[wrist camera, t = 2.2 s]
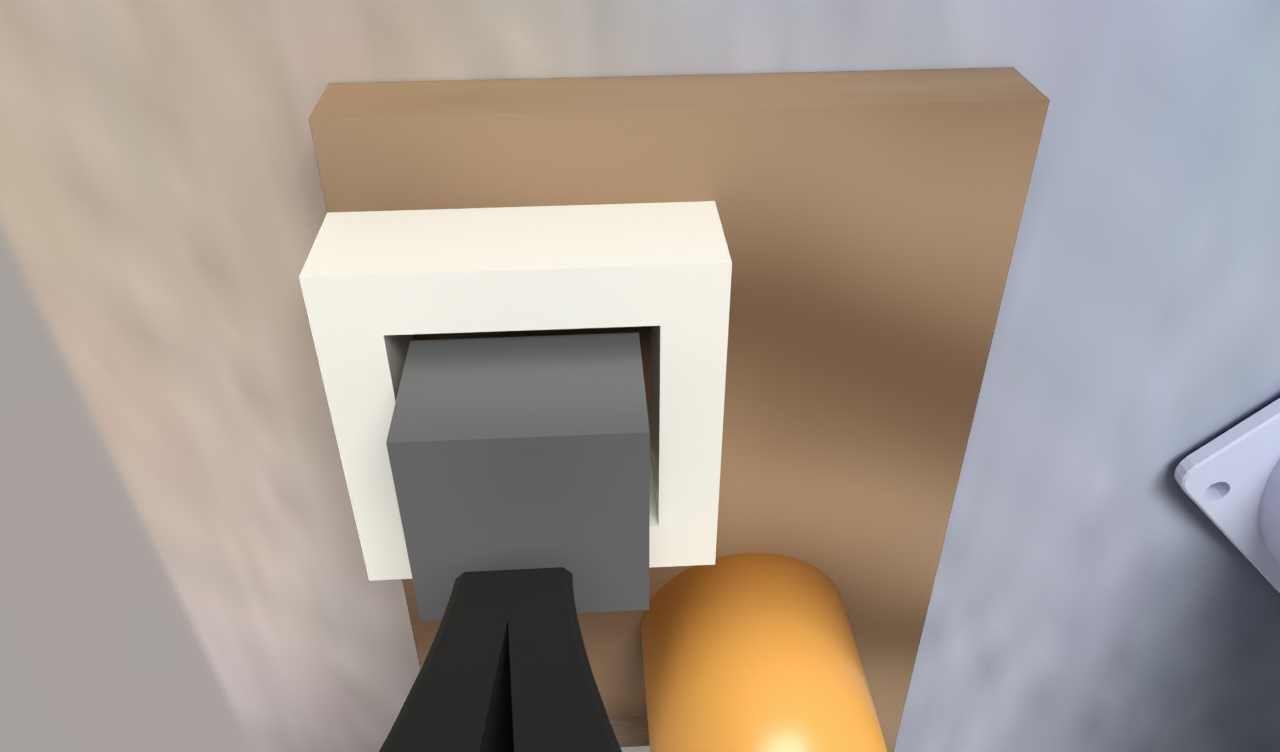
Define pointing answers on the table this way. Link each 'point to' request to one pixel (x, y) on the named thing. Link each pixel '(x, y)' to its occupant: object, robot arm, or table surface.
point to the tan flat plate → (764, 290)
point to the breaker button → (525, 464)
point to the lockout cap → (754, 662)
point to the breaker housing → (527, 300)
